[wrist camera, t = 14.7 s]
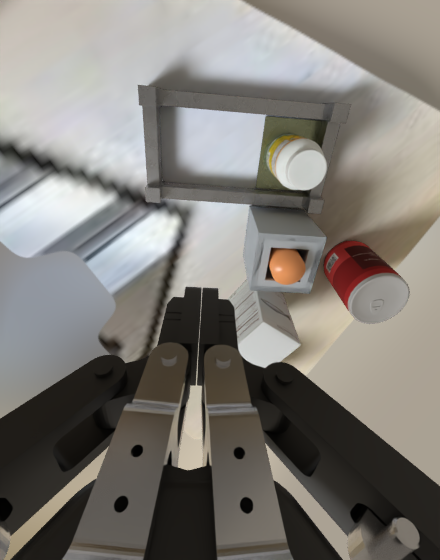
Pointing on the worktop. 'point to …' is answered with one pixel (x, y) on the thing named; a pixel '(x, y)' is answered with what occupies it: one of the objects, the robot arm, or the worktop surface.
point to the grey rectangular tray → (274, 127)
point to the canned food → (365, 282)
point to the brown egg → (286, 265)
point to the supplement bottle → (296, 162)
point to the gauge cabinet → (281, 246)
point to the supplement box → (263, 326)
